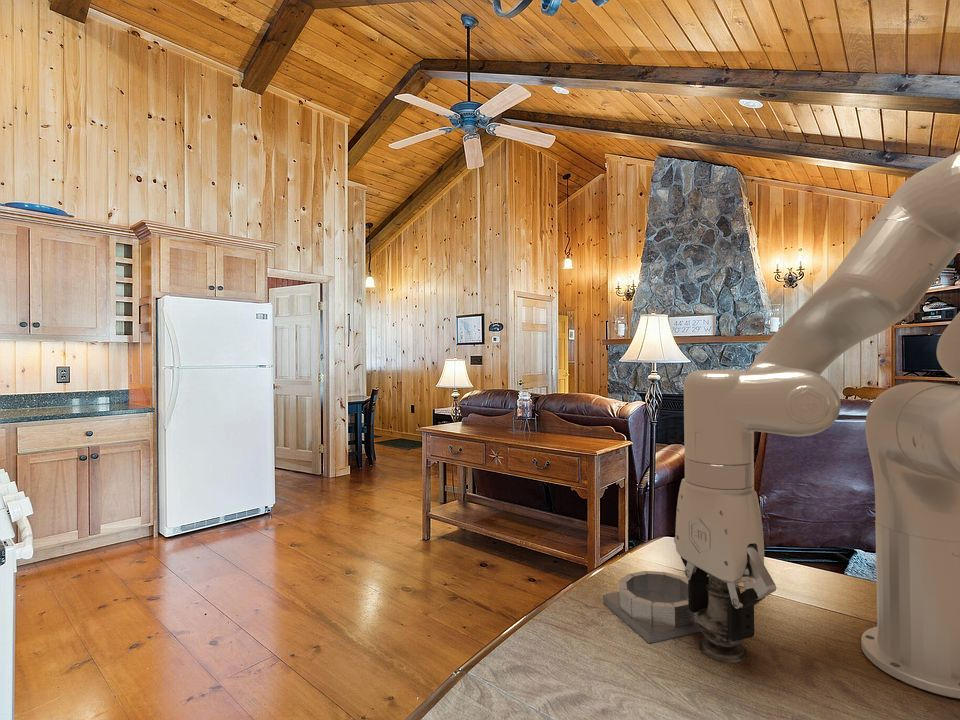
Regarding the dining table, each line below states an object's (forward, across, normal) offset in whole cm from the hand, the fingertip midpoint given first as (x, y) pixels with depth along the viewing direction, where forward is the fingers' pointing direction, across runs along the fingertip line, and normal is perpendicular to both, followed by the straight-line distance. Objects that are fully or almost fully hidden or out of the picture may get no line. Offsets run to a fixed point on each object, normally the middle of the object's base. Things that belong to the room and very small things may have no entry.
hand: (719, 622), depth 63 cm
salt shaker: (+4, 0, 0) cm, 4 cm away
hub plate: (+4, -10, -2) cm, 10 cm away
